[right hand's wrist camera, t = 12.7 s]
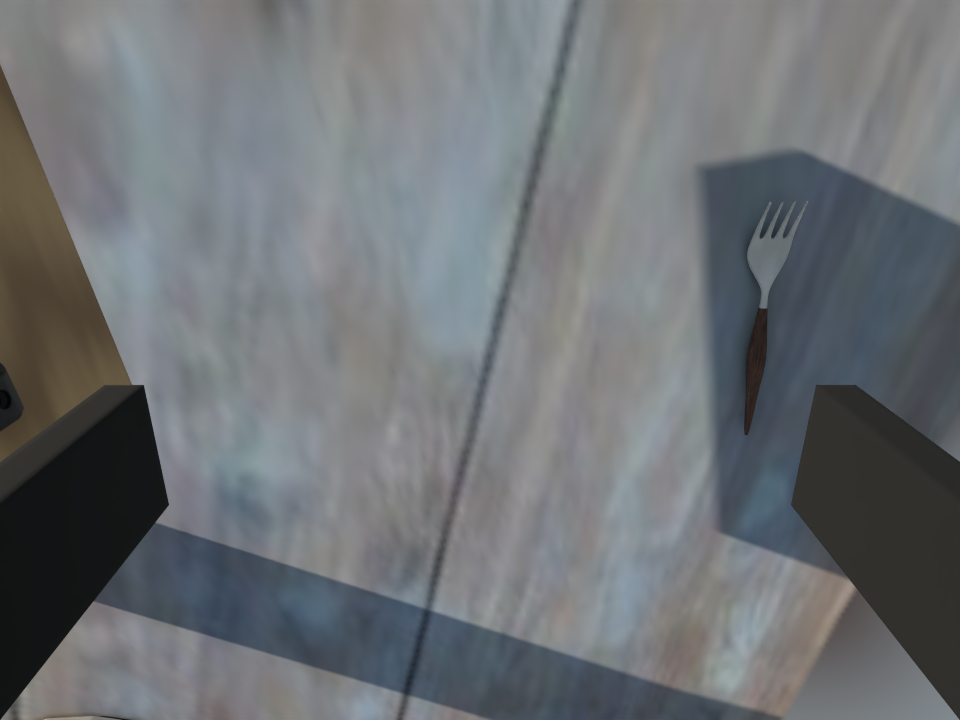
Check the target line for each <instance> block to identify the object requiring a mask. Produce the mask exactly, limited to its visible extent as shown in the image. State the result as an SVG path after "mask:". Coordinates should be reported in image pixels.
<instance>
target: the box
mask: <svg viewBox="0 0 960 720" xmlns="http://www.w3.org/2000/svg"><path fill="white" fill-rule="evenodd" d="M0 363H2V364H3V365H4V367H5V368H6V370H7V372H8V374H9V376H10V379H11V381H12V383H13V385H14V387H15V389H16V391H17V393H18V395H19V397H20V399H21V402H22V404H23V406H24V408H25V409H24V410H23V413H22V415H21V417H20V418H19V419H18V420H17V421H15V422H14V423H12V424H11V425H9V426H8V427H6V428H5V429H3V430H2V431H0V462H1V461H2V460H4V459H5V458H6V457H8V456H9V455H10V454H12V453H13V452H14V451H16V450H17V449H18V448H20V447H21V446H23V445H24V444H25V443H27V442H28V441H29V440H31V439H32V438H33V437H35V436H36V435H37V434H39V433H40V432H42V431H43V430H44V429H46V428H47V427H48V426H50V425H51V424H52V423H54V422H55V421H56V420H58V419H59V418H61V417H62V416H63V415H65V414H66V413H67V412H69V411H70V410H71V409H73V408H74V407H75V406H77V405H78V404H80V403H81V402H82V401H84V400H85V399H86V398H88V397H89V396H90V395H92V394H93V393H94V392H96V391H97V390H99V389H100V388H101V387H103V386H104V385H132V384H131V381H130V379H129V376H128V374H127V371H126V369H125V367H124V364H123V362H122V359H121V357H120V354H119V352H118V350H117V347H116V345H115V342H114V340H113V337H112V335H111V333H110V330H109V328H108V325H107V323H106V320H105V318H104V316H103V313H102V311H101V308H100V306H99V303H98V301H97V299H96V296H95V294H94V291H93V289H92V286H91V284H90V282H89V279H88V277H87V274H86V272H85V269H84V267H83V265H82V262H81V260H80V257H79V255H78V252H77V250H76V248H75V245H74V243H73V240H72V238H71V235H70V233H69V231H68V228H67V226H66V223H65V221H64V218H63V216H62V214H61V211H60V209H59V206H58V204H57V201H56V199H55V197H54V194H53V192H52V189H51V187H50V184H49V182H48V180H47V177H46V175H45V172H44V170H43V167H42V165H41V163H40V160H39V158H38V155H37V153H36V150H35V148H34V146H33V143H32V141H31V138H30V136H29V133H28V131H27V129H26V126H25V124H24V121H23V119H22V116H21V114H20V112H19V109H18V107H17V104H16V102H15V99H14V97H13V95H12V92H11V90H10V87H9V85H8V83H7V80H6V78H5V75H4V73H3V70H2V68H1V66H0Z"/></svg>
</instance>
